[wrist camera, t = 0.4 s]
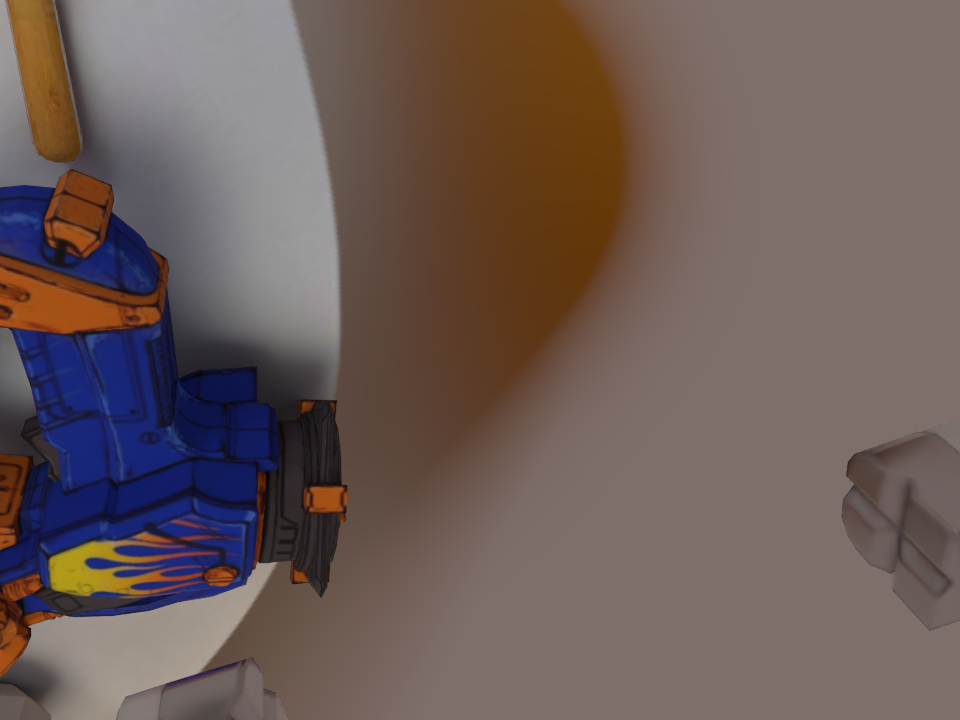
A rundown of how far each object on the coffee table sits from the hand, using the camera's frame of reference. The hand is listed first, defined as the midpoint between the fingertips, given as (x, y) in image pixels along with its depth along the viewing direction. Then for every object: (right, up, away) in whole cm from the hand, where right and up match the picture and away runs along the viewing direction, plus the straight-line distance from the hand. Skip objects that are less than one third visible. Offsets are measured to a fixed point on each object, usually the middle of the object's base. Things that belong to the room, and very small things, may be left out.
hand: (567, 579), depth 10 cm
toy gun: (-21, +5, +10) cm, 24 cm away
